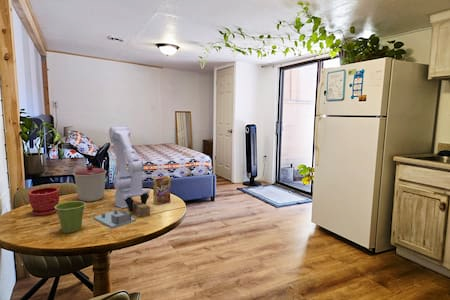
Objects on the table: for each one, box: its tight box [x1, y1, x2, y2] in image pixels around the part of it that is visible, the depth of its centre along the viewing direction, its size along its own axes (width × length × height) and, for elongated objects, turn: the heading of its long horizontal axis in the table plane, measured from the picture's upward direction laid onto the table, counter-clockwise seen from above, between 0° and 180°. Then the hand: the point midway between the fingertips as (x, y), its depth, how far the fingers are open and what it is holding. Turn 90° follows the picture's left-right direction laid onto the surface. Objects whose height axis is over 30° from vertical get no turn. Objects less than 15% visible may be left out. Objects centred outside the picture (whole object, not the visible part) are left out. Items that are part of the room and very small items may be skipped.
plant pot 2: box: [55, 200, 87, 234], centre depth 120 cm, size 12×12×11 cm
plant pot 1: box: [28, 186, 60, 216], centre depth 141 cm, size 13×13×12 cm
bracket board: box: [92, 209, 137, 229], centre depth 132 cm, size 18×12×4 cm, turn 50°
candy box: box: [152, 175, 171, 206], centre depth 158 cm, size 9×4×15 cm, turn 123°
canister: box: [72, 164, 108, 202], centre depth 164 cm, size 18×18×21 cm
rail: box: [127, 200, 151, 218], centre depth 142 cm, size 14×4×5 cm, turn 47°
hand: (137, 209), depth 143 cm, fingers open, 7 cm apart
